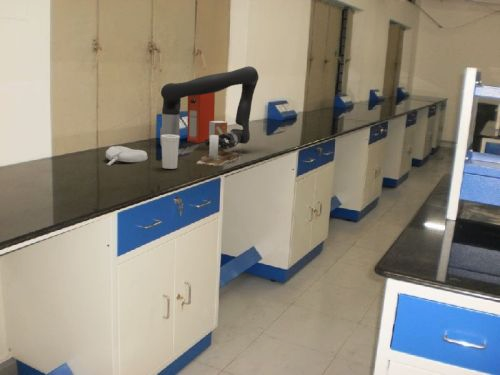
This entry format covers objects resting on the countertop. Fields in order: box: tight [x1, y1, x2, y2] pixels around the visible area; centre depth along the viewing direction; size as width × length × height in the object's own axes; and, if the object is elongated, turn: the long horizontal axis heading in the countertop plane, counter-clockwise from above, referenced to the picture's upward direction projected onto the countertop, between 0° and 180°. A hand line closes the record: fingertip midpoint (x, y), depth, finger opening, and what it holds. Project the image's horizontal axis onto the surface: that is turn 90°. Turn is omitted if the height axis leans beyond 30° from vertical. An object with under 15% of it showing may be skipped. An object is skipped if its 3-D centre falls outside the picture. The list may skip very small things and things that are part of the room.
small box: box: [209, 120, 228, 138], centre depth 304 cm, size 8×6×13 cm
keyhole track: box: [196, 150, 239, 167], centre depth 260 cm, size 12×22×3 cm, turn 161°
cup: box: [161, 134, 180, 170], centre depth 239 cm, size 8×8×14 cm
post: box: [208, 135, 219, 159], centre depth 254 cm, size 4×4×12 cm
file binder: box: [186, 92, 216, 144], centre depth 314 cm, size 8×17×32 cm, turn 156°
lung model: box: [105, 145, 148, 166], centre depth 250 cm, size 7×17×25 cm
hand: (214, 144), depth 255 cm, fingers open, 8 cm apart
